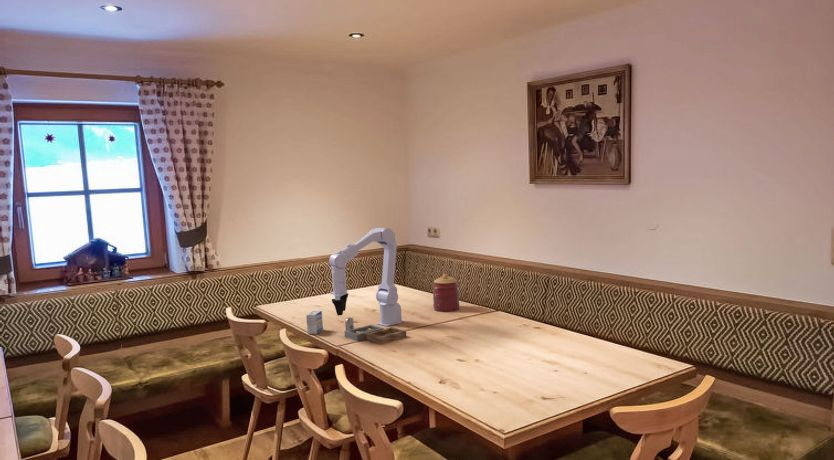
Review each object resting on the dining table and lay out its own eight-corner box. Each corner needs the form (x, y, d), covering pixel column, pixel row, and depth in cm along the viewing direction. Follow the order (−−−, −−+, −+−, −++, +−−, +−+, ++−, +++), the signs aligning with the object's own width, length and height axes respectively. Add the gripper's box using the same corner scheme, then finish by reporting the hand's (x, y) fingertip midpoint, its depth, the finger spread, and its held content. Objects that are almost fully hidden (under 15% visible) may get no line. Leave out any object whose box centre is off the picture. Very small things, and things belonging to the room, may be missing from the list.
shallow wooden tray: (392, 332, 259) (391, 326, 259) (406, 336, 251) (406, 331, 251) (365, 339, 250) (364, 333, 250) (379, 344, 242) (378, 338, 242)
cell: (351, 330, 265) (350, 316, 264) (355, 332, 262) (354, 317, 262) (344, 332, 263) (343, 317, 262) (348, 333, 260) (347, 319, 259)
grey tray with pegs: (371, 329, 265) (371, 323, 264) (384, 333, 257) (383, 326, 257) (344, 336, 256) (344, 329, 255) (357, 340, 248) (356, 333, 248)
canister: (464, 307, 299) (462, 272, 297) (451, 313, 288) (450, 277, 286) (441, 305, 306) (440, 270, 304) (428, 310, 295) (426, 275, 293)
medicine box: (316, 334, 261) (315, 315, 261) (307, 334, 262) (306, 314, 261) (323, 329, 269) (322, 310, 268) (313, 329, 270) (312, 310, 269)
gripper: (332, 278, 264) (334, 309, 265) (326, 285, 250) (329, 317, 251) (348, 278, 264) (350, 308, 265) (343, 284, 249) (345, 316, 251)
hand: (341, 312), depth 258 cm, fingers open, 7 cm apart
